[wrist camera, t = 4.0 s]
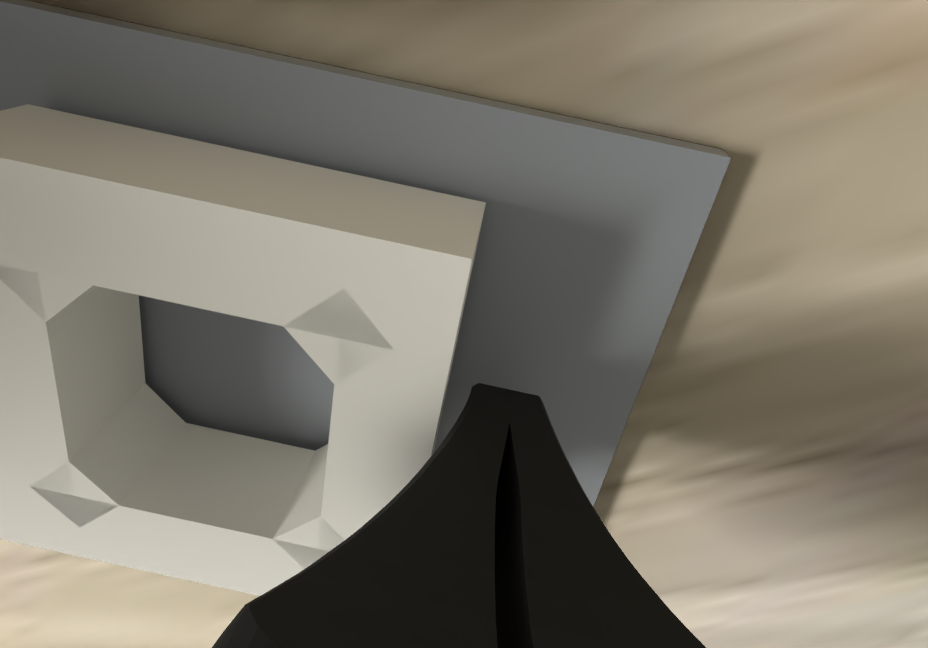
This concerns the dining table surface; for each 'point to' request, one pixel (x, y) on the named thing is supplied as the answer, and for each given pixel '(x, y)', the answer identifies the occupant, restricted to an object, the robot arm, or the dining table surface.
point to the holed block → (225, 291)
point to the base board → (417, 165)
